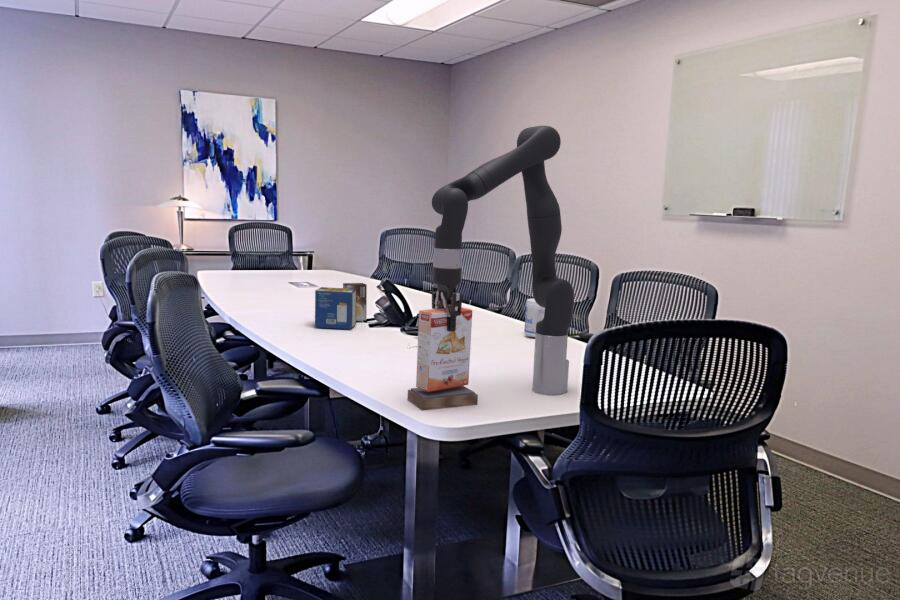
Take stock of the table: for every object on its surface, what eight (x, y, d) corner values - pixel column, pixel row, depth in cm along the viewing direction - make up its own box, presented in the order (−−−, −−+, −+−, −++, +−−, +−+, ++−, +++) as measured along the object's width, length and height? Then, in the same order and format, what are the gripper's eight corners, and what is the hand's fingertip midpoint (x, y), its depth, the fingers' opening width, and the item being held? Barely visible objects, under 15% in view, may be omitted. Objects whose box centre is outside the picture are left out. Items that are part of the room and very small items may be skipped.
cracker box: (429, 393, 176) (431, 313, 172) (415, 387, 180) (417, 309, 177) (470, 385, 184) (473, 308, 181) (456, 380, 189) (458, 305, 186)
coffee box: (362, 318, 306) (363, 282, 303) (366, 320, 300) (367, 284, 297) (342, 318, 302) (342, 282, 299) (346, 321, 296) (346, 284, 294)
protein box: (320, 323, 290) (320, 286, 288) (356, 324, 290) (356, 288, 287) (314, 327, 280) (314, 290, 278) (351, 329, 279) (351, 291, 277)
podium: (460, 395, 191) (461, 383, 190) (477, 405, 182) (477, 392, 181) (407, 400, 184) (407, 388, 183) (422, 411, 175) (422, 398, 174)
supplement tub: (519, 334, 282) (521, 298, 280) (537, 332, 287) (538, 297, 285) (534, 338, 274) (536, 302, 272) (552, 336, 279) (554, 301, 277)
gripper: (473, 268, 173) (470, 333, 175) (448, 262, 185) (446, 323, 188) (446, 268, 169) (443, 334, 172) (423, 263, 182) (421, 324, 185)
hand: (445, 328), depth 180 cm, fingers closed on cracker box, 6 cm apart
